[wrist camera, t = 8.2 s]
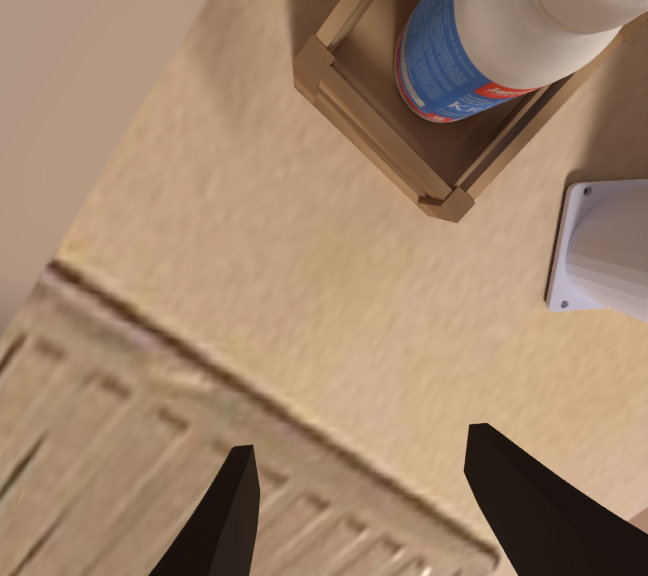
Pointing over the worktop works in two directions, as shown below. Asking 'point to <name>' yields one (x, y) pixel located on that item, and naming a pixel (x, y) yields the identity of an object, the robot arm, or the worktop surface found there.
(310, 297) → the worktop surface
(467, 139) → the crate
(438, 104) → the pill bottle
